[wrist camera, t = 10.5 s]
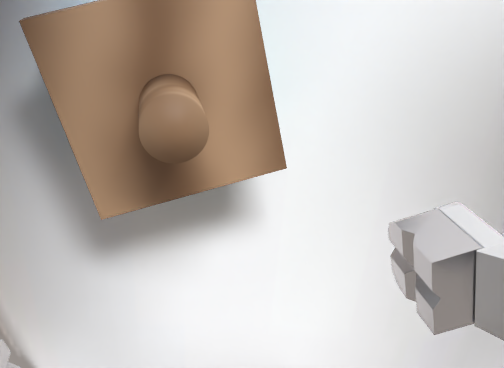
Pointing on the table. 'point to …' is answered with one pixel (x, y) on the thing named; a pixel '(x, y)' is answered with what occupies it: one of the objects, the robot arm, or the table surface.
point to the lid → (159, 96)
